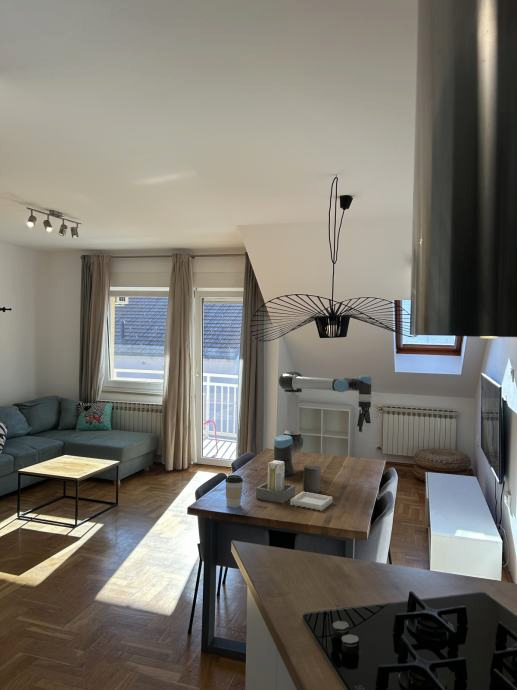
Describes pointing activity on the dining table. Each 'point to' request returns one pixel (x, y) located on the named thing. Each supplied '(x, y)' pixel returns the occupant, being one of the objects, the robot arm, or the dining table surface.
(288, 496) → the grey open box
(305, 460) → the dining table surface
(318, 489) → the pillar candle
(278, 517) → the dining table surface
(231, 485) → the coffee cup
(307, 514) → the dining table surface
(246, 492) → the dining table surface
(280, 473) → the juice carton
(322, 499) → the tray
